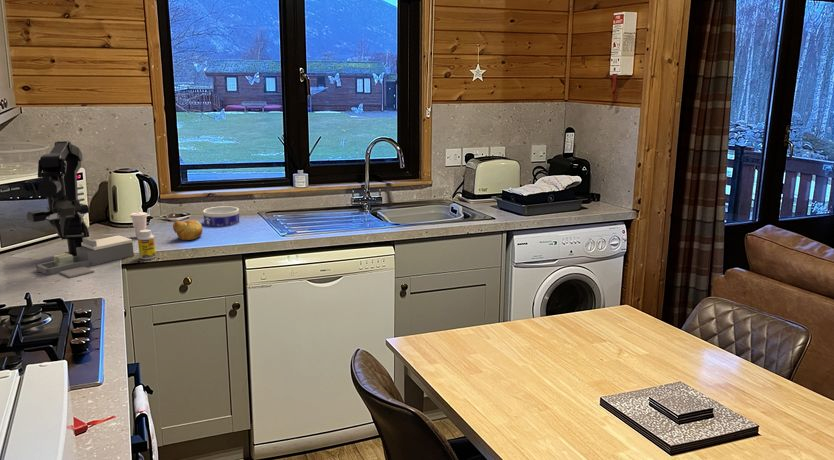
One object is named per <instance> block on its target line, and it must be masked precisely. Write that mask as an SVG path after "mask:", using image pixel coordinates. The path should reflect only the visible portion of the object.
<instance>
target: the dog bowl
mask: <svg viewBox="0 0 834 460" xmlns="http://www.w3.org/2000/svg"><path fill="white" fill-rule="evenodd" d="M202 213H203V223H204V225H205V226H208V227H229V226H233V225H237V224H238V223H240V209H239V207H235V206H229V205H228V206H223V205H221V206H214V207H207V208H205V209H203V212H202Z"/></svg>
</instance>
